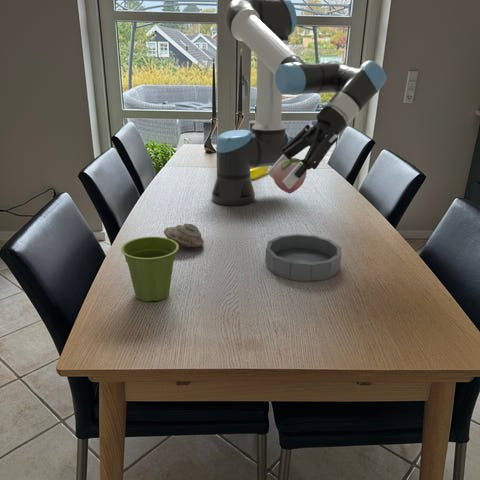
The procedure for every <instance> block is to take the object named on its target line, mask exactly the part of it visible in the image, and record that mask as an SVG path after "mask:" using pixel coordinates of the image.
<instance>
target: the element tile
mask: <svg viewBox="0 0 480 480" xmlns="http://www.w3.org/2000/svg"><path fill="white" fill-rule="evenodd" d="M268 170H269V166H266V167H257V168H251V173H250V178H251V181H253V180H257V179H258V178H260V177H261V178H262V177H263V176H265V175H269V174H268V173H267V172H268Z"/></svg>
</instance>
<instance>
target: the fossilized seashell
mask: <svg viewBox="0 0 480 480" xmlns="http://www.w3.org/2000/svg"><path fill="white" fill-rule="evenodd" d="M163 233H164V235H165V238H169V239H172V240H173V241H175V242H177V243H178V245H179V247H180V246H181V247H186V248H199V247H203V246H204V243H205V241H204V239H203V237H202V233H201V231H200V229H199V228H198V227H197V226H196V225H194V224H193V223H184V224H178V225H176V226H170V227H166V228H165V229H164V230H163Z"/></svg>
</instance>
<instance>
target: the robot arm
mask: <svg viewBox="0 0 480 480" xmlns="http://www.w3.org/2000/svg"><path fill="white" fill-rule="evenodd" d="M297 20H298V19H297V12H296V8H295V5H294V4H293V2H292V1H291V0H231V1H230V2H229V3H228V6H226V11H225V15H224V21H225V26H226V28H227V30H228V31H229V33H230V34H231V35H232V36H233V37H234V39H235V40H236V41H238V42H239V41H240V42H243V43H244V44H245V45H246V46H247V47H248V48H249V49H250V50H251V51H252V52H253V53H254V54H255V56H256V109H255V110H256V113H255V114H256V117H255V123H254V124H252V125H253V126H252V127H251V130H248V129H238V130H237V129H234V130H232V129H231V130H228V131H225V132H222V133H221V134H219V135H218V137H217V138H216V146H215V150H216V179H215V183H214V186H213V189H212V192H211V200H212V202H214V203H216V204H219V205H223V206H233V207H234V206H235V207H236V206H245V205H249V204H252V203H254V202H255V200H256V192H255V189H254V186H253V185H254V184H253V183H252V180H251V178H250V173H251V168H257V167H266V166H268V167H270V168H268V172H267V173H268V174H267V175H269V177H270V178H271V179H273V171H274V168H275V167H276V165H277V164H278V163H280V162H281V161H284V160H290V156H292V157H291V158H295V156H296V155H298V154H299V153H300V152H302V151H303V150H305V149H306V148H308V147H309V148H308V150H307V152H306V154H305V155H304V156H305V157H304V158H302V159H300V161H301V162H299V163H298V164H297V165H296V167H295V168H294V169H293V170H292V171H291V172H290V173H289V174H288V175H287V177H286V178H285V179H284V180H283V181H282V182H283V183H284V184H285V185H286V186H287V187H288V188H289V189H290V188H291V187H292V186H293V185H294V184H295V183H296V182H297V181H298V180H299V178H300V177H301V176H302V175H303V174H304V173H305V172H306V173H307V171H308V170H311V169H313V170H316V169H317V168H318V166H319V165H320V163H321V162H322V161H323V159H324V158H325V156H327V153H328V152H329V151H330V149H331V148H332V146H333V145H334V144H336V143H337V141H338V140H339V139H338V137H337V136H339V135H340V134H341V133H342V132H343V131H344V130H345V129H346V127H347V124H349V123H351V122H352V120H353V119H355V117H356V116H357V115H358V113H360V112H361V110H362V109H363V108H364V107H365V106H366V105H367V104H368V103H369V102H370V100H371V99H373V97H374V96H375V95H376V94H377V93H378V92H379V91H380V89H381V88H382V87H383V86H384V84H385V83H386V82H387V74H386V73H385V70H384V68H383V67H382V66H381V65H380V64H378V63H377V62H376V61H373V60H366V61H364V62H363V63H362V64H360V65H359V67H356V66H351V65H347V64H345V63H342V62H340V61H338V60H324V61H323V62H319V63H318V62H314V63H313V62H312V63H310V62H309V63H307V62H305V61H304V60H303V59H301V57H299V56H298V55H297V53H295V52H294V51H293V50H292V49H291V48H290V47H289V46H288V45H287V44H288V43H289V37H290V36H291V35H292V34H293V33H294V32H295V29H296V27H297ZM331 93H333V94H334V95H333V96H332V97H331V98H330V100H329V101H328V102H327V105H326V106H323V108H322V109H321V110H320V111H319V112H318V114H316V120H317V122H316V123H315V124H313V126H310V125H309V124H306V125H305V126H304V127H303V128H302V130H300V132H298V133H297V134H296V135H295V136H294V137H293V139H292V140H291V139H290V133H289V132H287V131H286V126H285V125H284V124H283V122H282V113H283V112H282V108H283V107H282V104H283V95H291V96H295V95H296V96H297V95H305V94H307V95H308V94H331Z"/></svg>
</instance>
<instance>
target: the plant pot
mask: <svg viewBox="0 0 480 480" xmlns="http://www.w3.org/2000/svg"><path fill="white" fill-rule="evenodd" d="M179 248H180V245H178V243H177V242H175V241H173V240H172V239H169V238H167V237H162V236H141V237H138V238H133V239H131V240H128V241H125V243H123V244H122V246H121V247H120V252H121V254H122V255H124V258H125V262H126V263H127V267H128V270H129V275H130V279H131V283H132V286H133V290H134V291H133V292H134V294H135V297H136V298H137V299H138V300H140V301H142V302H159V301H162V300H164V299H166V298H167V297H168V296H169V294H170V291H171V283H172V275H173V268H174V263H175V262H174V261H175V260H176V256H177V255H176V254H177V252H178V251H179Z"/></svg>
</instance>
